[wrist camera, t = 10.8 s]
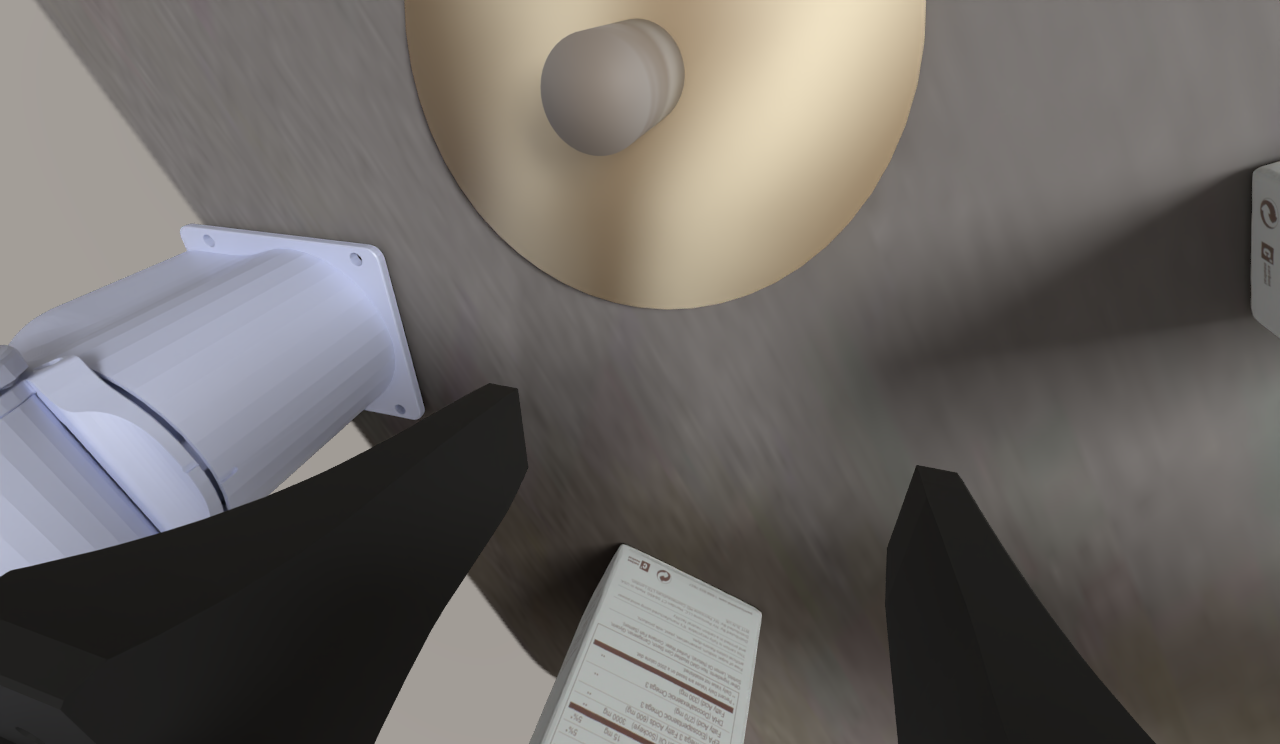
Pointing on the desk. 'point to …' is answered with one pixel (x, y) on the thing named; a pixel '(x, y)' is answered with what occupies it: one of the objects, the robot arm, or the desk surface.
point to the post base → (666, 131)
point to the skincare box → (1266, 247)
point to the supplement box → (654, 662)
